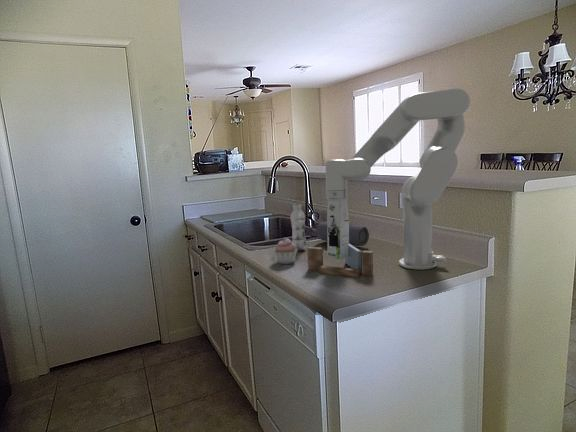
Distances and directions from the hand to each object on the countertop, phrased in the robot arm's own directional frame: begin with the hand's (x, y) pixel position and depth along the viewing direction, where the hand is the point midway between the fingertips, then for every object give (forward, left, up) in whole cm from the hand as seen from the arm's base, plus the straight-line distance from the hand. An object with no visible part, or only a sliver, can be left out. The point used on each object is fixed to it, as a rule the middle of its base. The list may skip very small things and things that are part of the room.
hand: (337, 243), depth 136 cm
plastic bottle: (+24, -17, -9) cm, 31 cm away
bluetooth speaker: (+9, -30, -9) cm, 33 cm away
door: (-6, 0, -9) cm, 10 cm away
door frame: (-3, +7, -9) cm, 11 cm away
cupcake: (+21, +1, -9) cm, 23 cm away
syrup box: (0, 0, -5) cm, 5 cm away
